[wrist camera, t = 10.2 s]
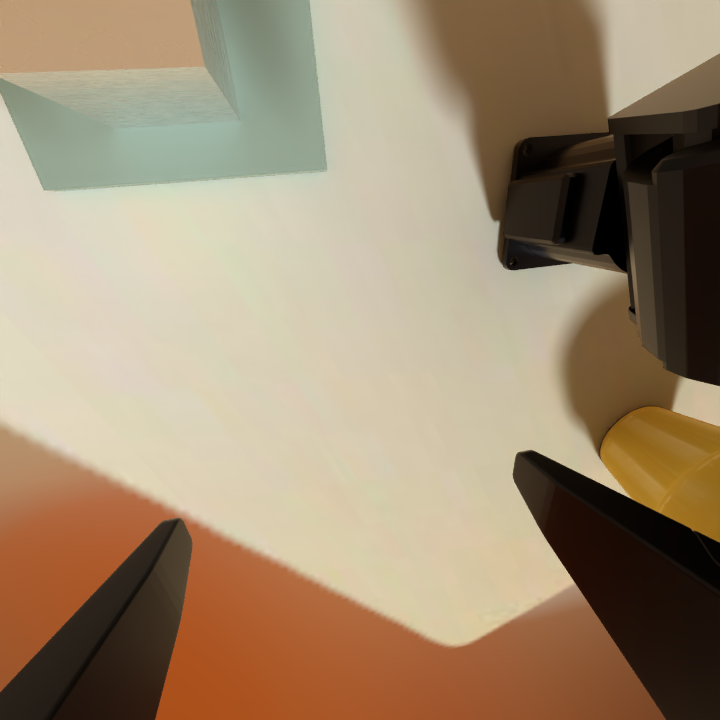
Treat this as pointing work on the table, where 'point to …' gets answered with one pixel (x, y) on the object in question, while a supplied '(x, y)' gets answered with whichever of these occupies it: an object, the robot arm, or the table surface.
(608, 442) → the plant pot
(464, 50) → the table surface
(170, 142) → the teal pad
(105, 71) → the pale wooden block
